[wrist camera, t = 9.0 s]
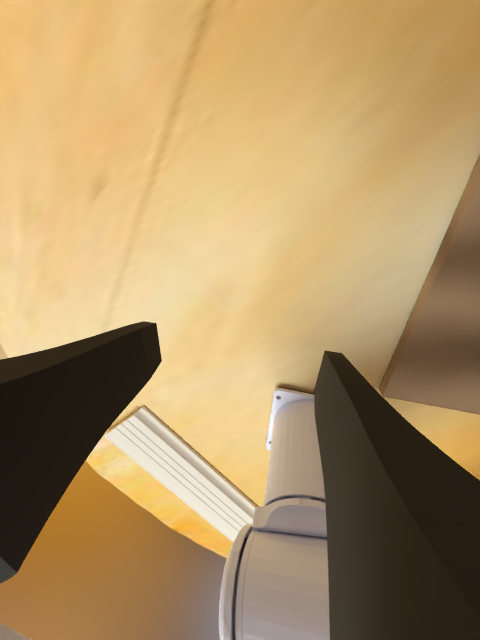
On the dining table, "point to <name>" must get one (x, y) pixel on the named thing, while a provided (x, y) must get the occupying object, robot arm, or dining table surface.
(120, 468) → the dining table surface
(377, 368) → the dining table surface
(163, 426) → the baseboard molding
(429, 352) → the brown slab
